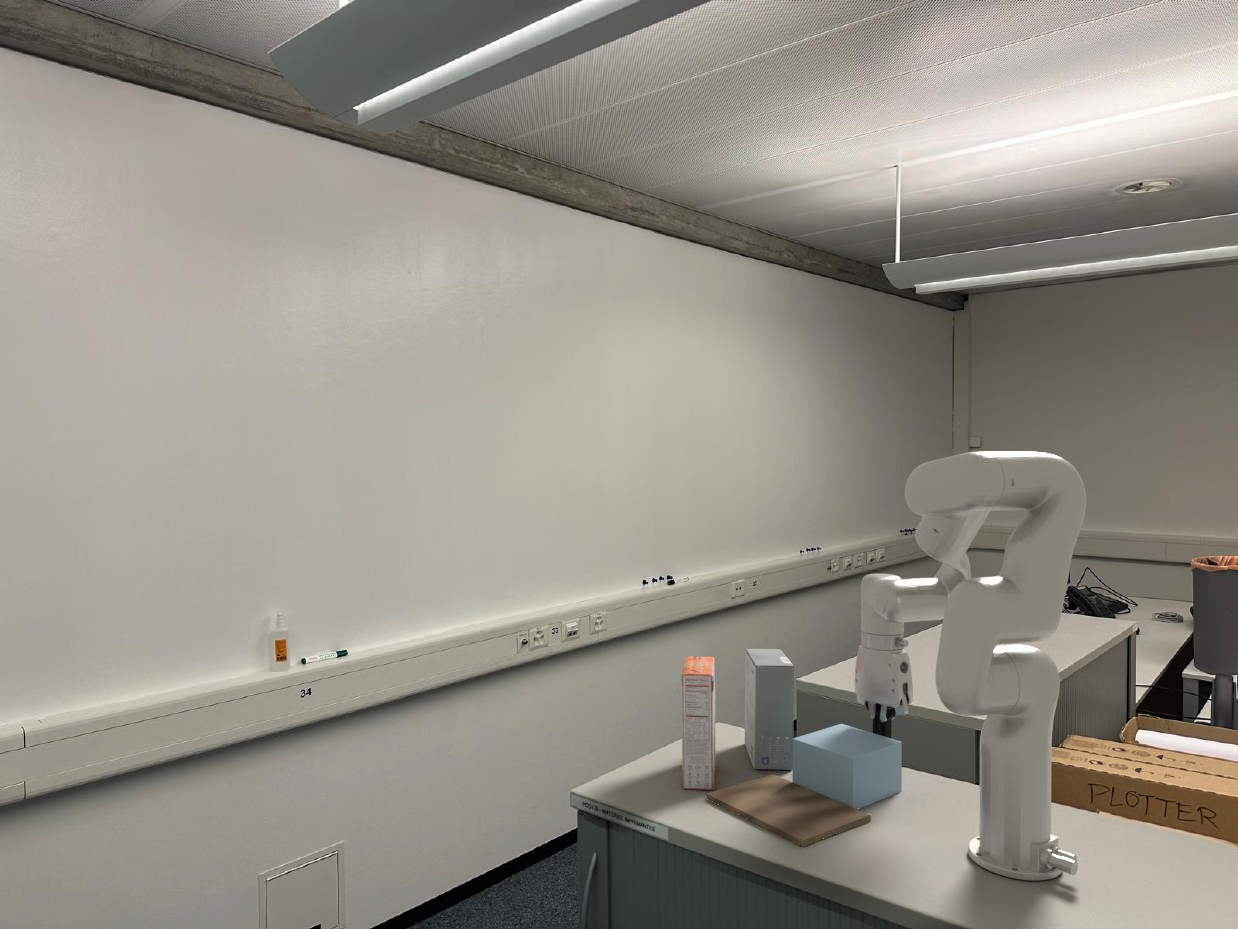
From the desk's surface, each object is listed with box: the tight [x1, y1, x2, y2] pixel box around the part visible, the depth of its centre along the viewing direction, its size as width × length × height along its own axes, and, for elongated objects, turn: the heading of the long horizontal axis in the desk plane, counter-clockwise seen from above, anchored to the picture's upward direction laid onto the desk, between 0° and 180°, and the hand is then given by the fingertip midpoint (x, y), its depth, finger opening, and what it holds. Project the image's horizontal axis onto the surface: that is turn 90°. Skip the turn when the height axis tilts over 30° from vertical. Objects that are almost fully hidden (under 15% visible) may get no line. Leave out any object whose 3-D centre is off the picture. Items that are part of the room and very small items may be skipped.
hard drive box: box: [744, 648, 795, 771], centre depth 168 cm, size 16×8×20 cm, turn 179°
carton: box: [792, 723, 903, 810], centre depth 151 cm, size 13×14×9 cm
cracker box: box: [681, 655, 716, 791], centre depth 157 cm, size 14×6×21 cm, turn 172°
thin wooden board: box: [706, 773, 872, 848], centre depth 142 cm, size 22×16×1 cm
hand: (881, 740), depth 157 cm, fingers closed
